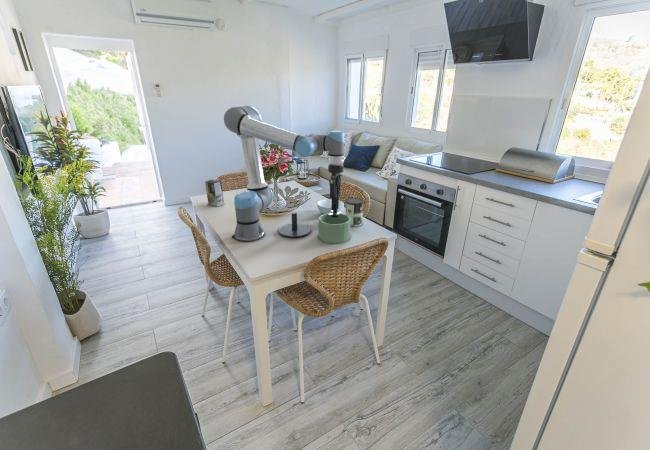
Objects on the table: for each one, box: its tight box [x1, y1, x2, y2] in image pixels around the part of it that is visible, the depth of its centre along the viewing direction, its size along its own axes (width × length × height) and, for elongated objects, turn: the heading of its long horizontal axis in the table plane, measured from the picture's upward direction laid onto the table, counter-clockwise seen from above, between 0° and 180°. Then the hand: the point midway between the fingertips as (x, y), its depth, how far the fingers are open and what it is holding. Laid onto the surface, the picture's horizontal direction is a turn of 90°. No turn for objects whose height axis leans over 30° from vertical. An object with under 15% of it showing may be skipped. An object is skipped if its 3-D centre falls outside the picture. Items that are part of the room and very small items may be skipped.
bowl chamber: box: [318, 212, 351, 244], centre depth 167 cm, size 17×17×10 cm
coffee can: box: [344, 197, 364, 227], centre depth 183 cm, size 10×10×14 cm
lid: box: [278, 211, 312, 238], centre depth 172 cm, size 18×18×11 cm
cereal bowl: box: [316, 198, 345, 215], centre depth 198 cm, size 17×17×7 cm
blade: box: [329, 192, 342, 218], centre depth 161 cm, size 7×7×13 cm
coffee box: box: [204, 179, 225, 207], centre depth 211 cm, size 9×6×16 cm
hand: (335, 209), depth 162 cm, fingers closed on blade, 2 cm apart
